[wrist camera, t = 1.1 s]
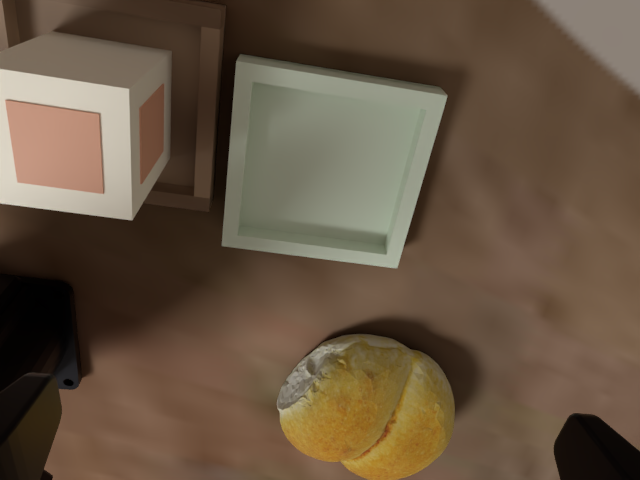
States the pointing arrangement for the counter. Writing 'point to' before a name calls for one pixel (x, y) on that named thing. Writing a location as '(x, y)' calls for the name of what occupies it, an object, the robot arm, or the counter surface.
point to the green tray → (326, 161)
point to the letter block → (83, 124)
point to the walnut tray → (186, 81)
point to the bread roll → (368, 406)
